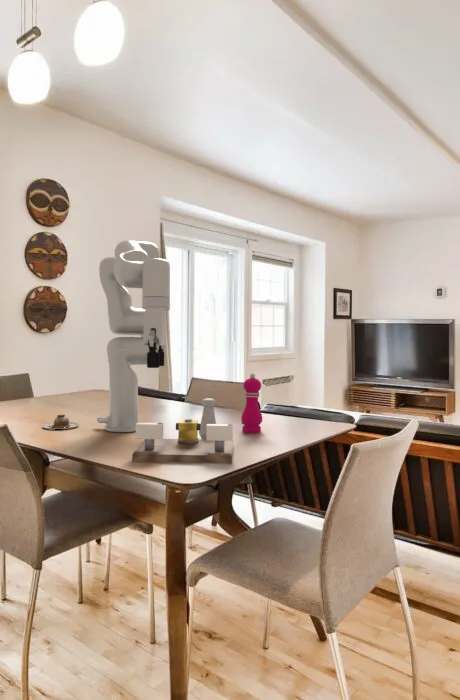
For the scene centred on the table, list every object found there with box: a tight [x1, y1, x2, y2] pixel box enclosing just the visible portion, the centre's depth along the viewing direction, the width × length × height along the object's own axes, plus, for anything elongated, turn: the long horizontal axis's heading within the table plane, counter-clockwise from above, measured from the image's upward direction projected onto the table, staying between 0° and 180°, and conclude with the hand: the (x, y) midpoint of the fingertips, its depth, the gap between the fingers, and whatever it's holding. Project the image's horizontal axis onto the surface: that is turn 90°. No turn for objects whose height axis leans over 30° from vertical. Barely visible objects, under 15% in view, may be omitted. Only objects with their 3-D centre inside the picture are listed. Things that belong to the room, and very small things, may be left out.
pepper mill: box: [241, 373, 263, 434], centre depth 171 cm, size 7×7×20 cm
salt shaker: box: [198, 397, 217, 440], centre depth 158 cm, size 6×6×13 cm
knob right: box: [206, 423, 234, 451], centre depth 136 cm, size 7×3×7 cm, turn 89°
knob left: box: [135, 422, 164, 450], centre depth 136 cm, size 7×3×7 cm, turn 89°
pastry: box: [42, 414, 80, 431], centre depth 175 cm, size 12×12×5 cm
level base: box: [131, 418, 234, 464], centre depth 140 cm, size 26×19×9 cm
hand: (155, 366), depth 138 cm, fingers open, 9 cm apart
